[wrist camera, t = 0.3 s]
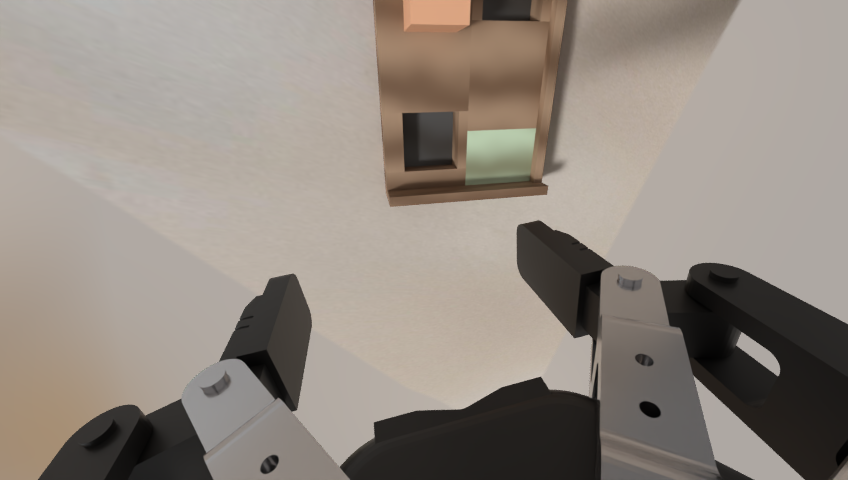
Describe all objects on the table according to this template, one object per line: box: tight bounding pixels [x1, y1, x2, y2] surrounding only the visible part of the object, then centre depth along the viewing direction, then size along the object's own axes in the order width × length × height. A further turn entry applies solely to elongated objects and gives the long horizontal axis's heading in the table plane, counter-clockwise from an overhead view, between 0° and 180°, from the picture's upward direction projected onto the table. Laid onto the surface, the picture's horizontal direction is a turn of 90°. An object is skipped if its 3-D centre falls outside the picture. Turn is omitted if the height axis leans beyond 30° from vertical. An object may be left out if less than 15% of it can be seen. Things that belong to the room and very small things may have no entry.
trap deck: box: [373, 0, 567, 207], centre depth 32 cm, size 28×18×5 cm, turn 1°
